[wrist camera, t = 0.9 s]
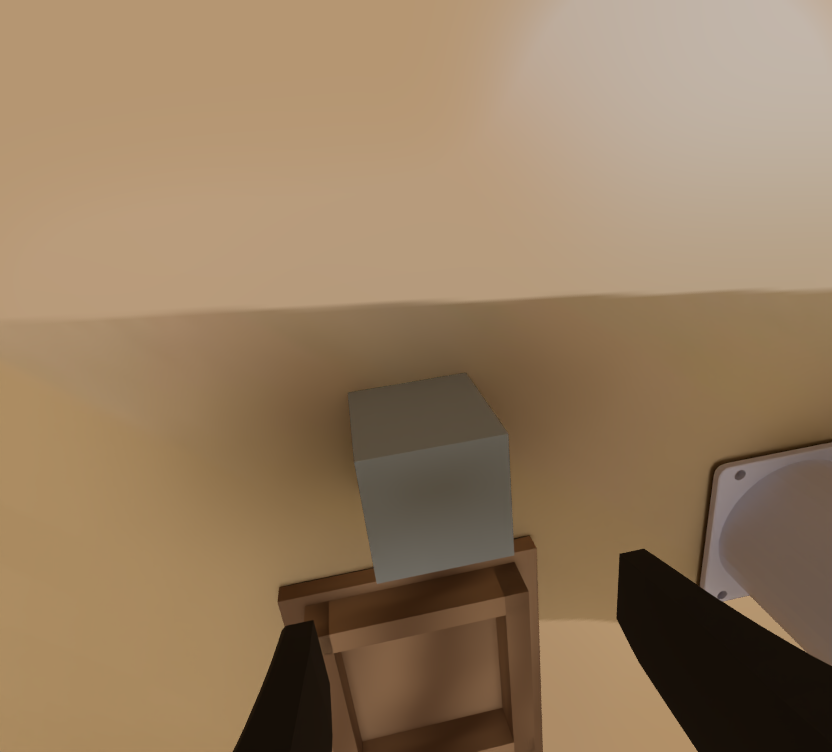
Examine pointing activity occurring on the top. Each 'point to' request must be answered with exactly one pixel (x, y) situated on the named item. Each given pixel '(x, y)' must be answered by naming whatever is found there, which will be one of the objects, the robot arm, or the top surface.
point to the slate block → (431, 476)
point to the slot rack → (430, 656)
